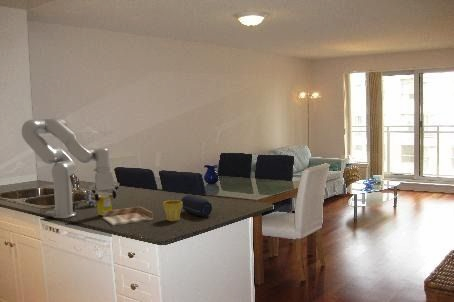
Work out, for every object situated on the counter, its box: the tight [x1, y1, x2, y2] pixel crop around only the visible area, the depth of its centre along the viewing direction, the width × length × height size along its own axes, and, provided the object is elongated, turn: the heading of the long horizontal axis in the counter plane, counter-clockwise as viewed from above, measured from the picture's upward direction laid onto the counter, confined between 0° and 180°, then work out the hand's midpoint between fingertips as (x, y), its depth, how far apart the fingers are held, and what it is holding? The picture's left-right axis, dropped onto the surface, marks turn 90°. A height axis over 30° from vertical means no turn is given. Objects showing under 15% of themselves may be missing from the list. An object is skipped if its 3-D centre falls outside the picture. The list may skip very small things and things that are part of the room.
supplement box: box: [96, 195, 113, 218], centre depth 257 cm, size 6×6×11 cm
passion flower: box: [83, 190, 102, 208], centre depth 286 cm, size 11×11×12 cm
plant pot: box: [162, 199, 183, 222], centre depth 241 cm, size 10×10×10 cm
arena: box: [102, 205, 154, 226], centre depth 246 cm, size 22×20×4 cm
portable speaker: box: [180, 194, 213, 218], centre depth 254 cm, size 25×10×10 cm, turn 32°
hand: (105, 199), depth 257 cm, fingers open, 9 cm apart
